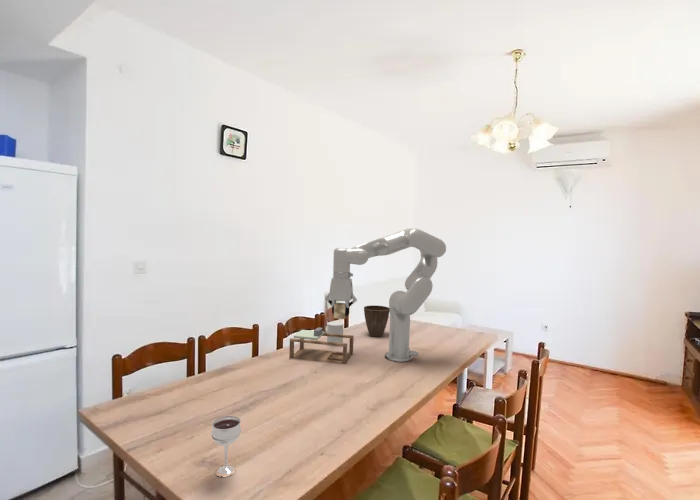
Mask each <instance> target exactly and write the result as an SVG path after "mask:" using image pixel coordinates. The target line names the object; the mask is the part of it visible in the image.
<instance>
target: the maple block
mask: <svg viewBox="0 0 700 500" xmlns="http://www.w3.org/2000/svg"><path fill="white" fill-rule="evenodd" d="M345 308H346V303H345V302H336V304H334V316H333V318H334V319H343V320H345V319H346V318H347V317H346V316H345Z"/></svg>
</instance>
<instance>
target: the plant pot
mask: <svg viewBox="0 0 700 500" xmlns="http://www.w3.org/2000/svg"><path fill="white" fill-rule="evenodd" d="M363 313H364V321H365V323H366V324H365V325H366V329H367V332H368V335H369V336H370V337H373V338H382V337H383V335H384V334H385V333H384V332H385V331H386V328H387V324H388V321H389V318H390V309H389V306H384V305H365V306H364V307H363Z"/></svg>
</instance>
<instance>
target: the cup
mask: <svg viewBox="0 0 700 500" xmlns="http://www.w3.org/2000/svg"><path fill="white" fill-rule="evenodd" d="M326 333H331V334H342V335H344V322H341V321H330V322H327V327H326ZM326 342H335V343H344V338H342V337H331V336H326ZM328 346H329V347H333V346H332V345H328Z"/></svg>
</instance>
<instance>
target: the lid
mask: <svg viewBox="0 0 700 500" xmlns="http://www.w3.org/2000/svg"><path fill="white" fill-rule="evenodd" d="M324 333H325V331H324V330H323V327H316V328H315V329H313V330H310V329H309V330H308V329H300V330H299V331H298V332H297V333H296V334H294V335H293V338H294V339H304V340H315V341H319V340H320V339H321V337H323V336H322V335H323V334H324Z"/></svg>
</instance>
